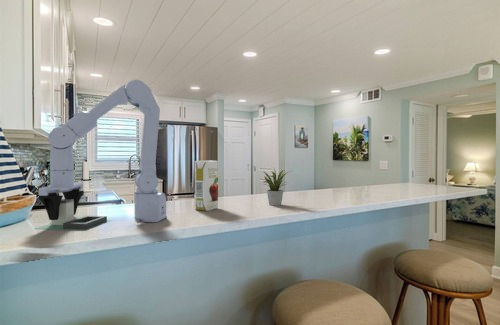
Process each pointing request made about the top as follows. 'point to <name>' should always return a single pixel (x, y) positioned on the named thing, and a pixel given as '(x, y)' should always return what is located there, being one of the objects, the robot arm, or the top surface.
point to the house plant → (275, 188)
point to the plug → (65, 212)
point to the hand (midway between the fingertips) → (62, 217)
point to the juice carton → (206, 185)
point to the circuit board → (79, 223)
